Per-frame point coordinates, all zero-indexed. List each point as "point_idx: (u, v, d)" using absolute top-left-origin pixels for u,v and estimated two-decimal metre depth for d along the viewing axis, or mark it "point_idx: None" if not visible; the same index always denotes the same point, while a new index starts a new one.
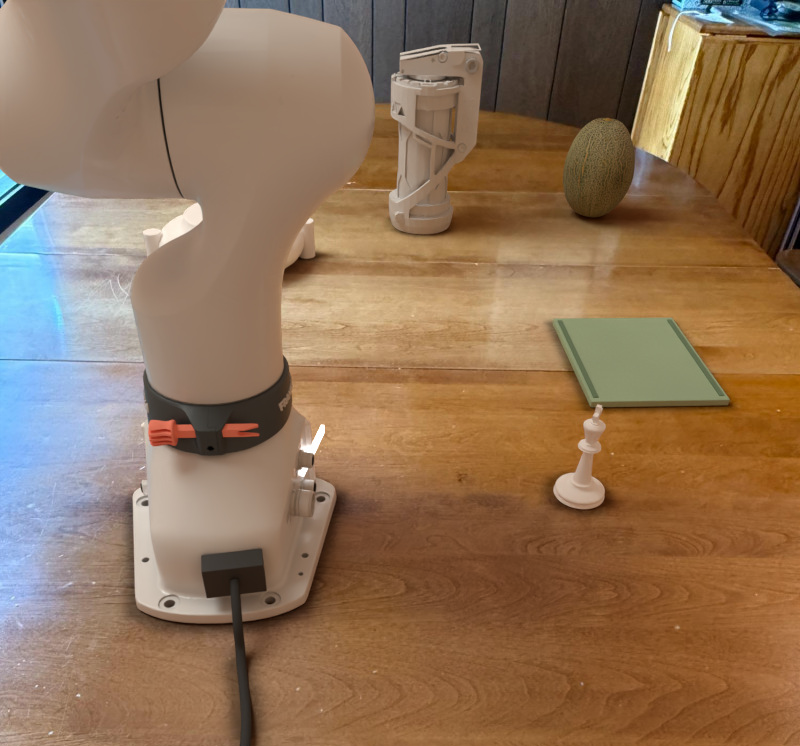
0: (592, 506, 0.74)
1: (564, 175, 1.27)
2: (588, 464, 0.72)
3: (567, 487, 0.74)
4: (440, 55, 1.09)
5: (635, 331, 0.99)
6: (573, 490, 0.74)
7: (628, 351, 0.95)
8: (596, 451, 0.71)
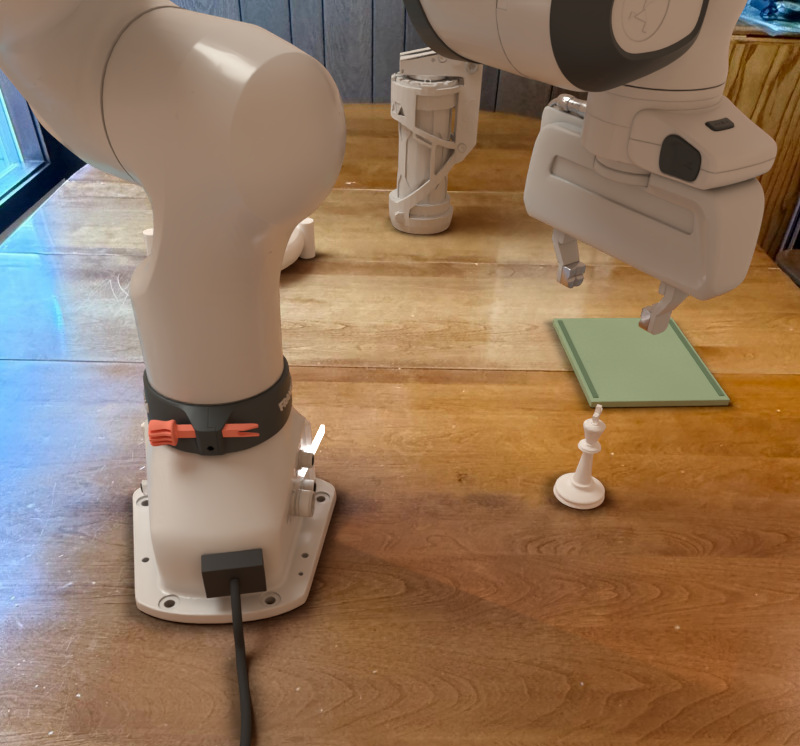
0: (592, 506, 0.74)
1: None
2: (588, 464, 0.72)
3: (567, 487, 0.74)
4: (440, 55, 1.09)
5: (635, 331, 0.99)
6: (573, 490, 0.74)
7: (628, 351, 0.95)
8: (596, 451, 0.71)
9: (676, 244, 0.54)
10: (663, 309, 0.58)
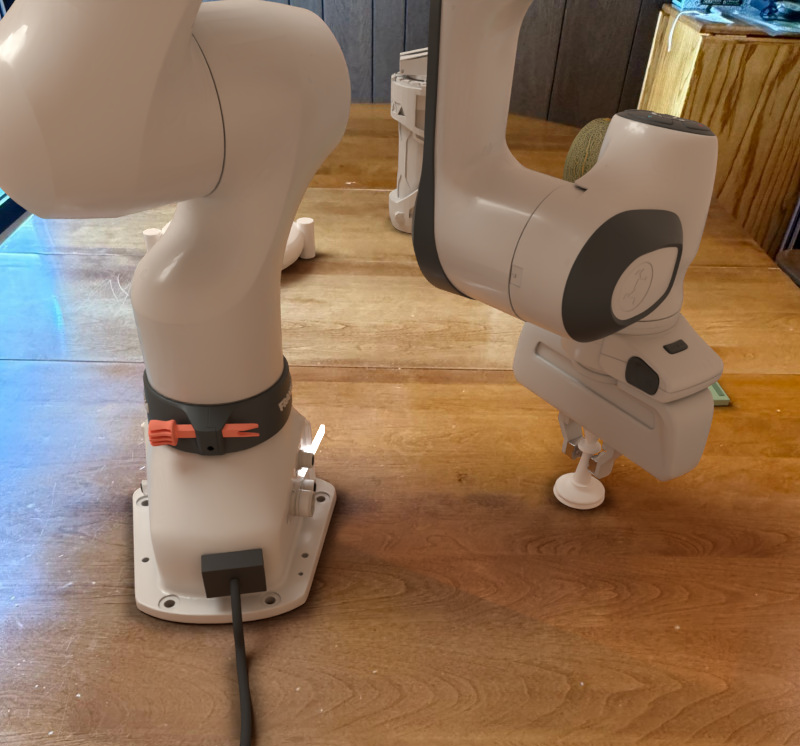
0: (592, 506, 0.74)
1: (564, 175, 1.27)
2: (588, 464, 0.72)
3: (567, 487, 0.74)
4: None
5: None
6: (573, 490, 0.74)
7: None
8: (596, 451, 0.71)
9: (640, 434, 0.63)
10: (606, 462, 0.69)
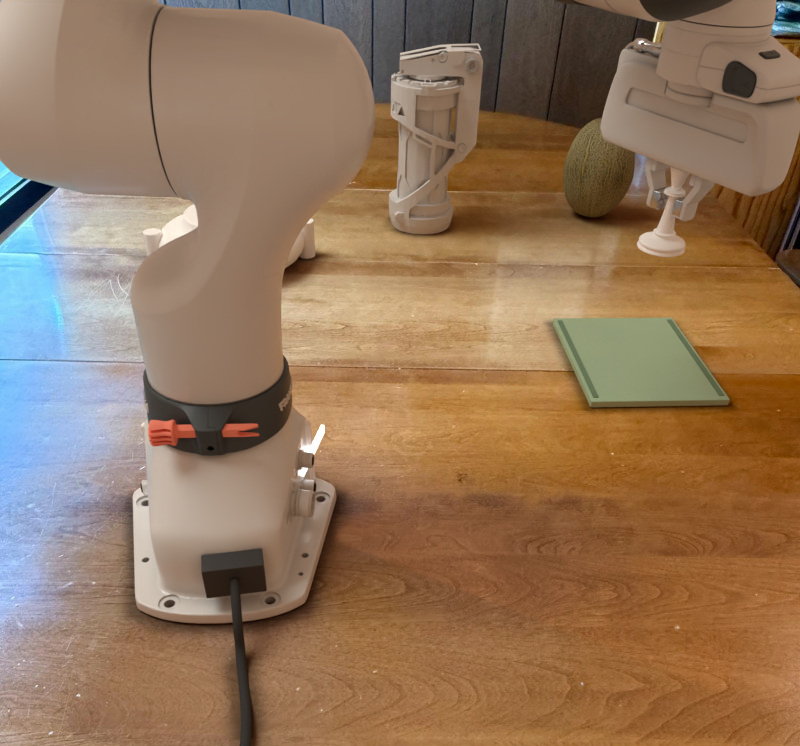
0: (675, 254, 0.79)
1: (564, 175, 1.27)
2: None
3: (651, 238, 0.80)
4: (440, 55, 1.09)
5: (635, 331, 0.99)
6: (657, 240, 0.80)
7: (628, 351, 0.95)
8: (681, 194, 0.77)
9: (731, 152, 0.69)
10: (692, 198, 0.75)
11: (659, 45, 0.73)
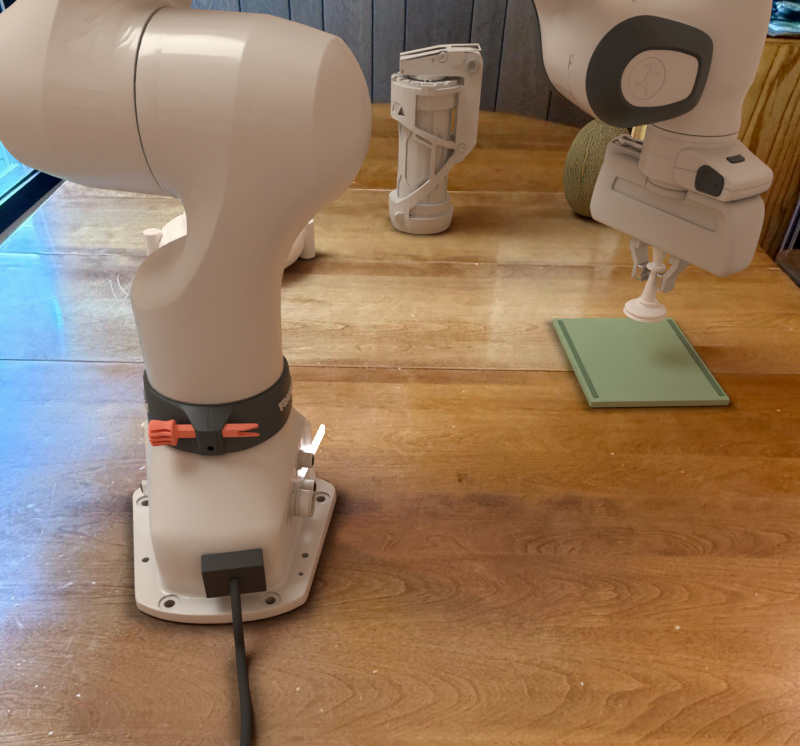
0: (657, 320, 0.89)
1: (564, 175, 1.27)
2: (654, 283, 0.88)
3: (636, 306, 0.90)
4: (440, 55, 1.09)
5: (635, 331, 0.99)
6: (641, 308, 0.89)
7: (628, 351, 0.95)
8: (662, 269, 0.86)
9: (704, 239, 0.79)
10: (671, 274, 0.85)
11: (641, 142, 0.82)
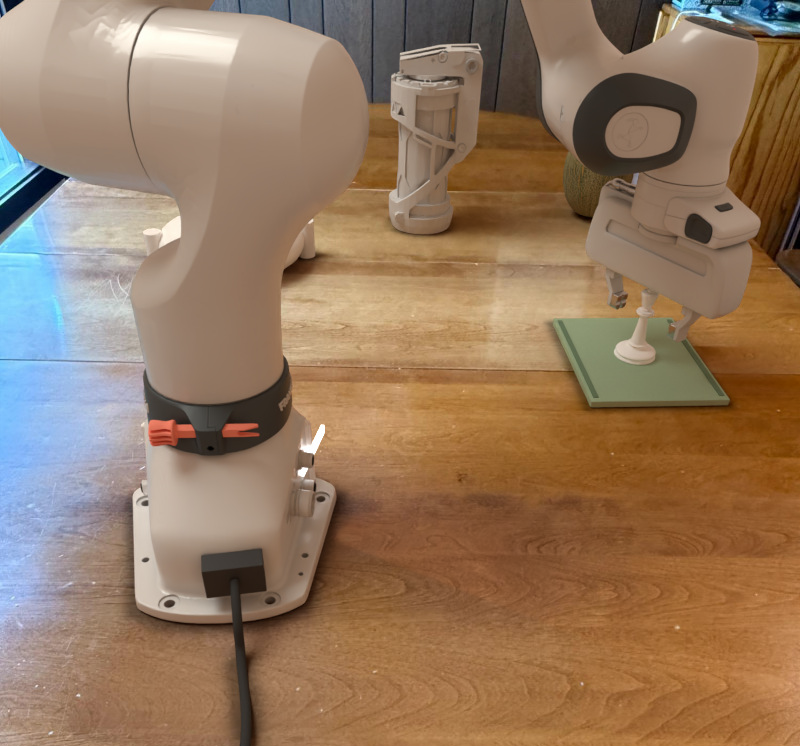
0: (646, 362, 0.93)
1: (564, 175, 1.27)
2: (644, 327, 0.91)
3: (626, 348, 0.93)
4: (440, 55, 1.09)
5: None
6: (631, 350, 0.93)
7: None
8: (651, 315, 0.90)
9: (694, 282, 0.81)
10: (684, 325, 0.85)
11: (633, 187, 0.85)
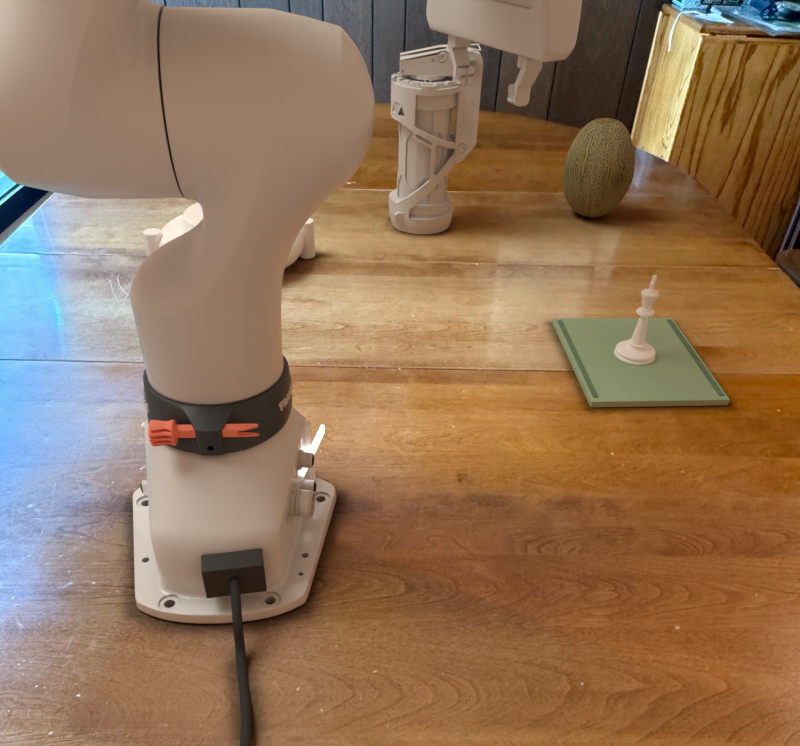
0: (646, 362, 0.93)
1: (564, 175, 1.27)
2: (644, 327, 0.91)
3: (626, 348, 0.93)
4: (440, 55, 1.09)
5: None
6: (631, 350, 0.93)
7: None
8: (651, 315, 0.90)
9: (523, 19, 0.73)
10: (521, 80, 0.77)
11: None
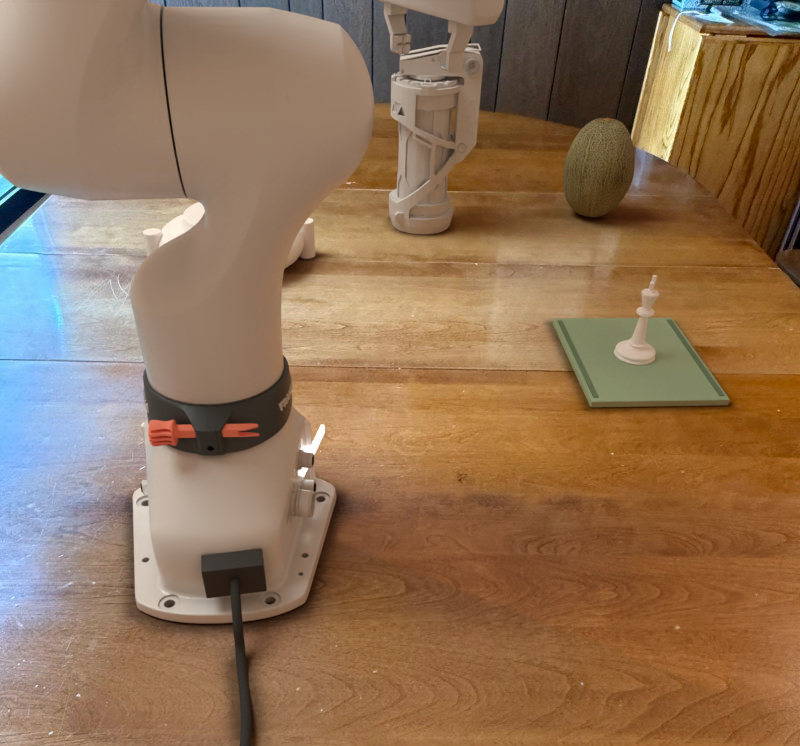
0: (646, 362, 0.93)
1: (564, 175, 1.27)
2: (644, 327, 0.91)
3: (626, 348, 0.93)
4: (440, 55, 1.09)
5: None
6: (631, 350, 0.93)
7: None
8: (651, 315, 0.90)
9: None
10: (452, 46, 0.77)
11: None
